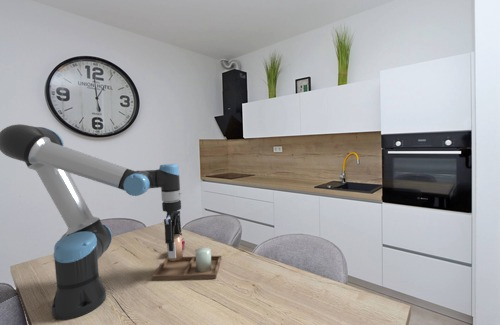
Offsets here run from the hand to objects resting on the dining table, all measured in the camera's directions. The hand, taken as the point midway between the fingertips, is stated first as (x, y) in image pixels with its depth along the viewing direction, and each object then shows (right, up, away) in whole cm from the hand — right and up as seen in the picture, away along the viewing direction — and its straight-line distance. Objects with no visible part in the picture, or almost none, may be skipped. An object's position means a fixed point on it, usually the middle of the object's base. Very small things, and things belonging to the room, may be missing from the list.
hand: (175, 254), depth 103 cm
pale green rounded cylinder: (+12, -6, 0) cm, 14 cm away
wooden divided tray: (+6, -7, 0) cm, 9 cm away
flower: (-5, -7, +17) cm, 19 cm away
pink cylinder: (0, -1, 0) cm, 1 cm away
